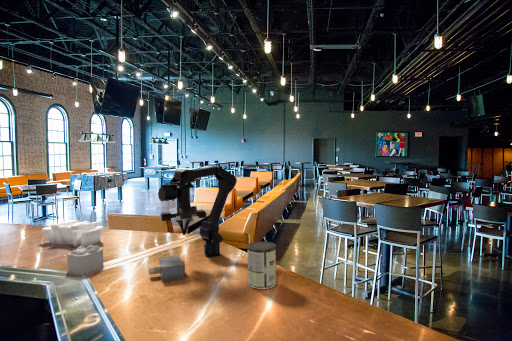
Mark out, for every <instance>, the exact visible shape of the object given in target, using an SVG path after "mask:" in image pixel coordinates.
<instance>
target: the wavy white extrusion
mask: <svg viewBox="0 0 512 341" xmlns="http://www.w3.org/2000/svg"><path fill="white" fill-rule="evenodd" d="M103 230H104V226H103V225H99V222H98V221H94V222H90V221H89V220H84V221H79V220H78V219H73V220H68V221H67V220H66V221H64V222H59V223H54V224H51V225H50V226H45V227H43V228H41V231H42V232H43V234H44V235H45V236H46V239H47V240H48V242H49V243H50V244H54V245H55V244H56V245H71V246H73V247H76V248H78V247H80V246H83V247H88V246H90V245H94V246H95V245H96V244H98V243H99V242H100V241H101V236H102V233H103Z"/></svg>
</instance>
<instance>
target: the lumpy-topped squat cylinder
mask: <svg viewBox="0 0 512 341" xmlns="http://www.w3.org/2000/svg"><path fill="white" fill-rule="evenodd" d="M66 258H67V273H69V274H71V273H72V274H75V275H83V274H82V273H85V274H88V273H87V272H89V273H91V272H90V271H92V272H94V271H96V269H97V270H98V268H99V269H101V268H102V267H103V266H104V248H103V247H102V246H98V245H95V244H94V245H90V246H88V247H83V246H81V245H80V246H77V247H76V249H73V250H72V251H70V252H68V253H67V257H66ZM100 267H101V268H100ZM93 270H94V271H93Z"/></svg>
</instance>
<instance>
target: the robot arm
mask: <svg viewBox="0 0 512 341" xmlns="http://www.w3.org/2000/svg"><path fill="white" fill-rule="evenodd" d="M211 176H214V178H215V179H216V180H217V181H218V184H217V186H218V187H217V188H218V191H217V194H216V197H215V199H214V203H213V205H212V208H211V210H210V214H209V216H208V218H207V212H206V210H204V209H198V208H197V205H193V206H192V205H191V189H194V188H195V185H194V184H192V182H195V180H197V179H200V178H205V177H211ZM237 182H238V179H237V177H236V175H234V174H232V173H231V172H230V171H228V170H227V169H225V168H224V167H223V166H221V165H212V166H207V167H201V168H197V169H177V170H175V172H174V174H173V176H172V178H171V180H170V182H169V183H168V184H160V187H159V189H158V192H157V196H158V199H159V201H160V202H169V201H175V202H176V212H175V213H171V211H164V212H163V211H162V212H160V215H159V216H160V217H159V218H160V221H161V222H168V221H171V220H172V219H173V220H174V221H175V223H177V224H178V225H179V229H180V231H181V233H182V236H186V233H187V230H188V226H189V224H190V223H191V222H192V221H194V217H197V218H199V219H205V218H207V219H206V220H203V221H201V225H200V227H199V235H200V237H201V238H202V241H204V245H203V253H204V255H205V256H206V258H211V257H218V256H221V254H222V253H221V252H220V250H221V249H220V248H221V245H220V244H221V243H223V240H224V238H223V236H222V235H221V234H220V233H219V231H220V225H219V222H220V220H221V219H220V218H221V215H222V213H223V210H224V208H225V205H226V201H227V200H228V199H227V198H228V197H229V194H230V192H232V191H233V190H234V188H235V187H236V184H237Z"/></svg>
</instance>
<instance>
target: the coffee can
mask: <svg viewBox="0 0 512 341" xmlns="http://www.w3.org/2000/svg"><path fill="white" fill-rule="evenodd" d="M246 247H247V286H248V285H249V286H250V287H249V288H251V287H254V288H259V289H264V288H265V289H266V290H269V289H268V288H271V289H273V288H274V286H275V285H276V286H277V255H276V254H277V244H276V243H274V242H270V241H265V240H264V241H252V242H250V243H247V246H246ZM276 286H275V287H276ZM272 287H273V288H272Z"/></svg>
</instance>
